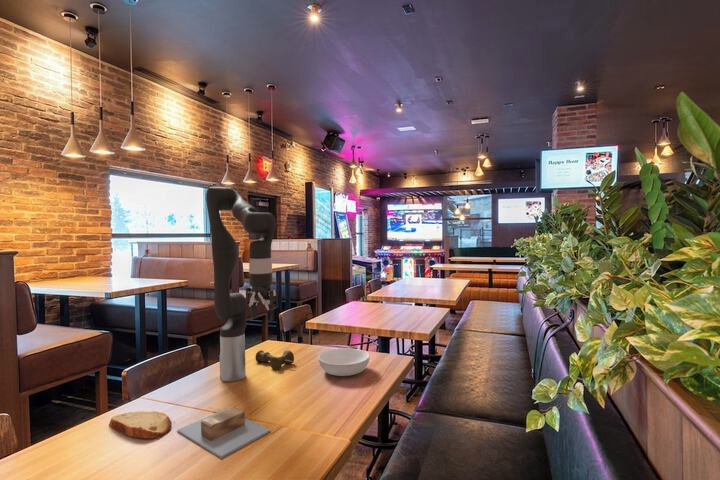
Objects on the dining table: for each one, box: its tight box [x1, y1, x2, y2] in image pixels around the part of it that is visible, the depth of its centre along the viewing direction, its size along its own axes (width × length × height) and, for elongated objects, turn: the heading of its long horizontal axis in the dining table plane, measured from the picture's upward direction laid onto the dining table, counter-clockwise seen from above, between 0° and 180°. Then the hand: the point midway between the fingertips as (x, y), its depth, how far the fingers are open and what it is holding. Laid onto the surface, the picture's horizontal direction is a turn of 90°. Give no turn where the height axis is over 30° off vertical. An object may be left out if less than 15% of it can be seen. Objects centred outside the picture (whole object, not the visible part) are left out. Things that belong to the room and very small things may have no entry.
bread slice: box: [108, 410, 172, 440], centre depth 115 cm, size 18×18×4 cm
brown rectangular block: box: [201, 406, 246, 441], centre depth 112 cm, size 11×5×4 cm, turn 142°
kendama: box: [254, 349, 295, 371], centre depth 167 cm, size 6×10×20 cm
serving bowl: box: [317, 347, 370, 377], centre depth 157 cm, size 21×21×7 cm
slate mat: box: [176, 408, 271, 459], centre depth 112 cm, size 22×16×1 cm
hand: (261, 318), depth 132 cm, fingers open, 8 cm apart
